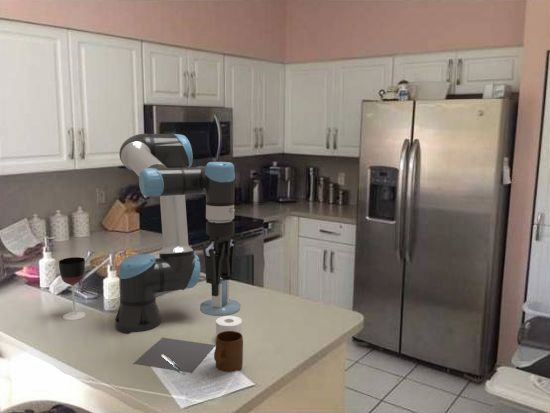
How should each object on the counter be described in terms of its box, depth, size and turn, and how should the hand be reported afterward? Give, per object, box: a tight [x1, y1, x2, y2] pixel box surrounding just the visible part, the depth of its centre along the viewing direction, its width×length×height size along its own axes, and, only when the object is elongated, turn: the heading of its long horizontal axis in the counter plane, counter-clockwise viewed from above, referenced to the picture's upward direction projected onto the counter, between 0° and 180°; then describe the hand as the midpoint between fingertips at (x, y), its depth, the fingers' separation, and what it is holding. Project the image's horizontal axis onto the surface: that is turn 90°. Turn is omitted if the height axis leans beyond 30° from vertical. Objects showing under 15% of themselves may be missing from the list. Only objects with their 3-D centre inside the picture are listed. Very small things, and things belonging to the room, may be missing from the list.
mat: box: [132, 337, 216, 374], centre depth 148 cm, size 18×18×1 cm
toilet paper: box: [215, 315, 243, 338], centre depth 159 cm, size 8×11×7 cm
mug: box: [213, 331, 244, 373], centre depth 139 cm, size 12×8×9 cm, turn 159°
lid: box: [199, 278, 241, 317], centre depth 136 cm, size 11×11×8 cm
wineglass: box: [58, 256, 87, 321], centre depth 174 cm, size 8×9×20 cm
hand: (220, 304), depth 137 cm, fingers closed on lid, 3 cm apart
